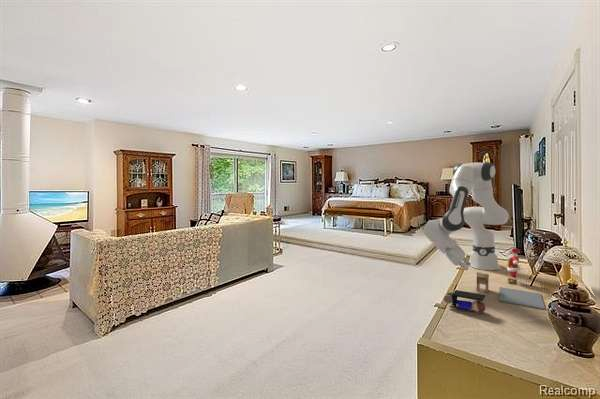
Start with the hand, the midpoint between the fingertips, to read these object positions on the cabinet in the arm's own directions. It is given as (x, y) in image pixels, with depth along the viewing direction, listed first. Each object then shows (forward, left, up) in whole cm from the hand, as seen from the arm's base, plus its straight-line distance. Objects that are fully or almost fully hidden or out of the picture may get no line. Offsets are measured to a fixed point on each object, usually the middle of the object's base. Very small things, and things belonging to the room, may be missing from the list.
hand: (468, 267), depth 146 cm
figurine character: (+29, +1, -11) cm, 31 cm away
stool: (0, +6, -11) cm, 13 cm away
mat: (+2, +21, -11) cm, 24 cm away
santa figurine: (-22, +19, -11) cm, 31 cm away
